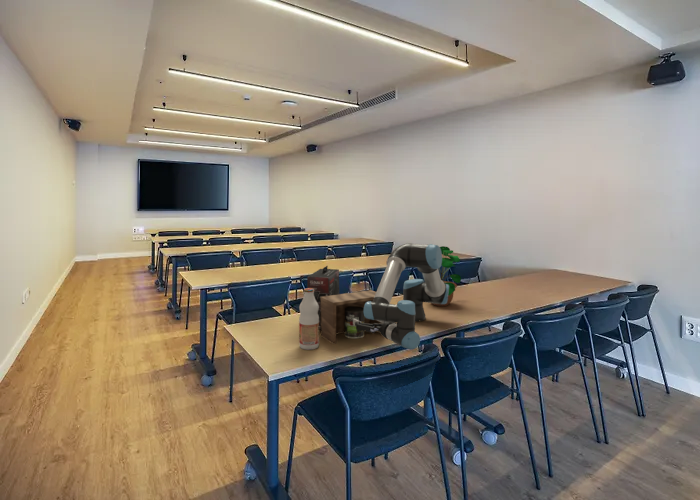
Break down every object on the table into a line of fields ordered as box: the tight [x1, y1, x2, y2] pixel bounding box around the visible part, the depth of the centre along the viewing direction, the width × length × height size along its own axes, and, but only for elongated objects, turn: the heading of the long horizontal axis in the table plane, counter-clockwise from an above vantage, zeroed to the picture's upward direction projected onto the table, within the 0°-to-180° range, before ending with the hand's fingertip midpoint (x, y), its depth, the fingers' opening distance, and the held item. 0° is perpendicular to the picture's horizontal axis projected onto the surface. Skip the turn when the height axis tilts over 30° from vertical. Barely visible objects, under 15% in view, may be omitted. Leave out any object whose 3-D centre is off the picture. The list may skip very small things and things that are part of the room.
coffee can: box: [344, 306, 365, 339], centre depth 199 cm, size 10×10×14 cm
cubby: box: [320, 289, 381, 345], centre depth 200 cm, size 31×14×20 cm, turn 121°
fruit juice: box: [298, 287, 320, 351], centre depth 182 cm, size 9×9×28 cm
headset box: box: [306, 265, 340, 332], centre depth 216 cm, size 24×13×33 cm, turn 168°
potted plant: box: [432, 246, 462, 307], centre depth 259 cm, size 31×29×40 cm
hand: (365, 319), depth 189 cm, fingers open, 13 cm apart
